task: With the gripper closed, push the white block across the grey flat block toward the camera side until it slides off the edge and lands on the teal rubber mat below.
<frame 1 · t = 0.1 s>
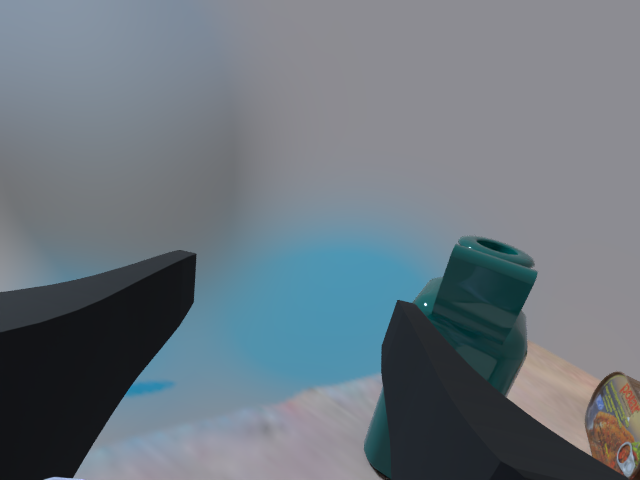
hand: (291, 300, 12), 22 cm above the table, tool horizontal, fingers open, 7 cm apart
green bottle: (410, 460, 32), on the table
tin: (605, 459, 37), on the table
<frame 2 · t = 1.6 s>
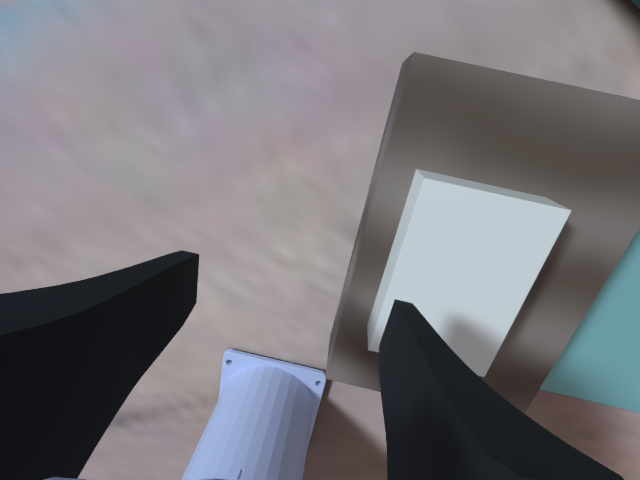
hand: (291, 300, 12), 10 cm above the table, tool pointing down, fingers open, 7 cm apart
white block: (446, 268, 17), point 4 cm above the table, touching grey flat block
grey flat block: (455, 244, 21), on the table
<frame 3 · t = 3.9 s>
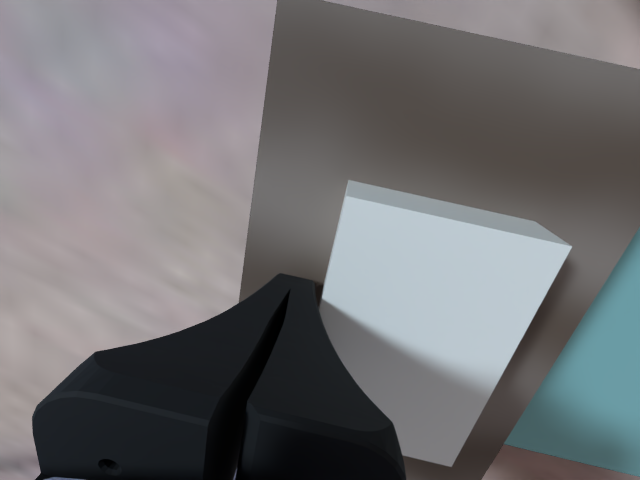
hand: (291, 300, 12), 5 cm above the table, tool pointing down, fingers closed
mat: (639, 324, 16), on the table
white block: (400, 315, 12), point 4 cm above the table, touching gripper
grey flat block: (390, 266, 16), on the table
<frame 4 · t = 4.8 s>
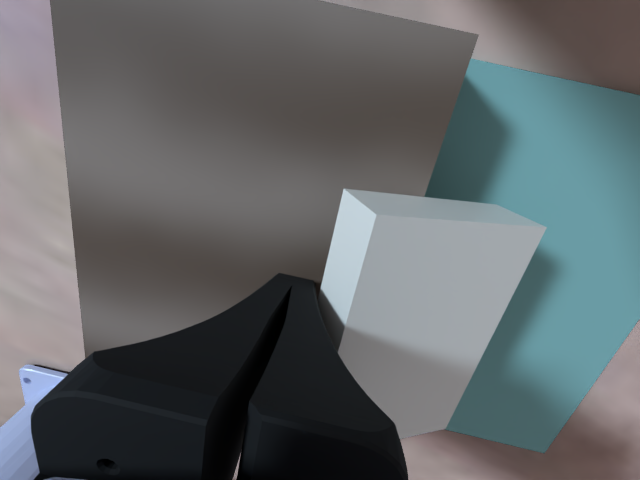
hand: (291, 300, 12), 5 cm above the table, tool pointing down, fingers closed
mat: (502, 292, 16), on the table
white block: (389, 312, 12), point 4 cm above the table, tilted 26°, touching grey flat block
grey flat block: (257, 236, 16), on the table
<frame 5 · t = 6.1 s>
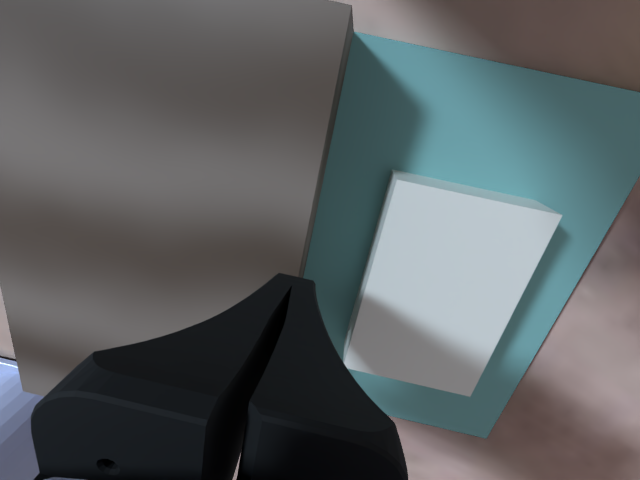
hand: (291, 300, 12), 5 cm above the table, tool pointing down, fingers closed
mat: (432, 275, 16), on the table
white block: (438, 301, 14), point 2 cm above the table, tilted 180°, touching mat
grey flat block: (189, 220, 16), on the table
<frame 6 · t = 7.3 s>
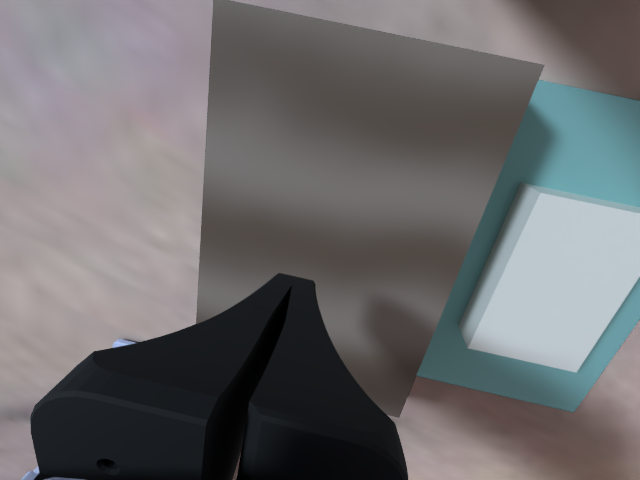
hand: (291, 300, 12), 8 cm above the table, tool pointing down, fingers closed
mat: (541, 270, 19), on the table
white block: (560, 291, 17), point 2 cm above the table, tilted 180°, touching mat
grey flat block: (333, 224, 19), on the table
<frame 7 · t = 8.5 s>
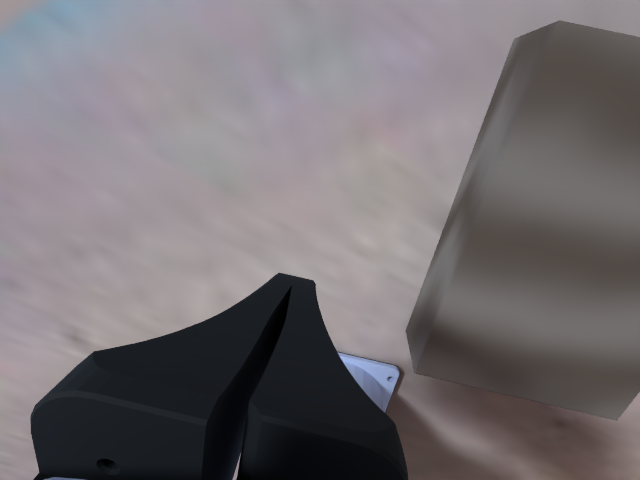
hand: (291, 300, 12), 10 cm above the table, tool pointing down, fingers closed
grey flat block: (550, 232, 20), on the table
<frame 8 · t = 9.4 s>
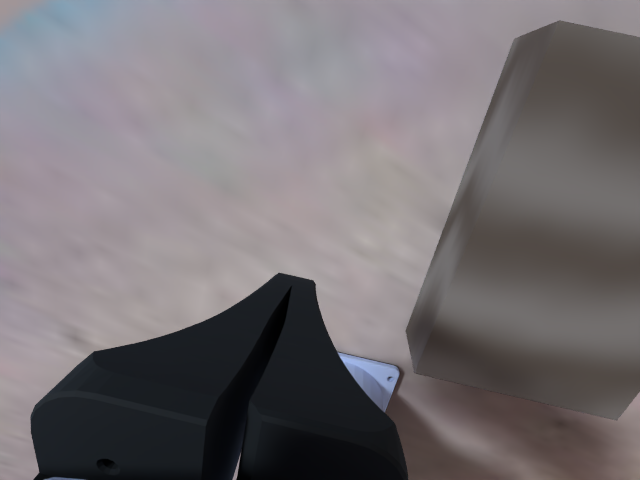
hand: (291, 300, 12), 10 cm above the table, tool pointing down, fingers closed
grey flat block: (550, 232, 20), on the table
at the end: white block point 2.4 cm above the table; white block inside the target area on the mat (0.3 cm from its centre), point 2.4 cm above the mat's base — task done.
